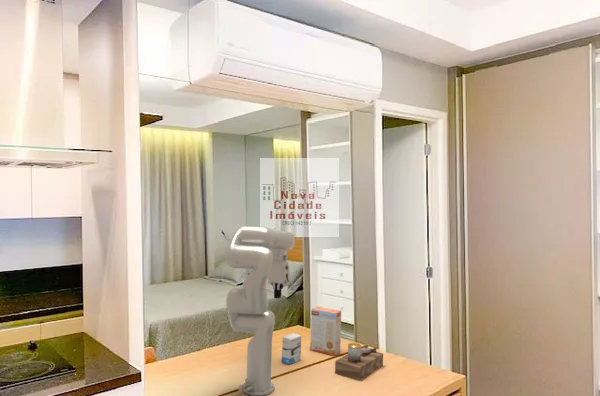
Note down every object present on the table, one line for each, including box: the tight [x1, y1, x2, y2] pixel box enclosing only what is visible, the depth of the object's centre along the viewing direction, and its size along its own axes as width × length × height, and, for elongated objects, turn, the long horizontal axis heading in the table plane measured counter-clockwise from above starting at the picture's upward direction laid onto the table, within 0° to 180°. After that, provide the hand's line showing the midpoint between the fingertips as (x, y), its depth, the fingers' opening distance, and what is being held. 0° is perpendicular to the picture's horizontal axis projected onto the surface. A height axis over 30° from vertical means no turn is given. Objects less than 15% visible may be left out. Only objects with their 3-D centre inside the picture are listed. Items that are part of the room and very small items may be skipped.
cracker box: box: [309, 306, 342, 356], centre depth 225 cm, size 14×6×21 cm, turn 58°
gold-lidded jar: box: [347, 342, 362, 363], centre depth 199 cm, size 6×6×12 cm
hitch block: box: [334, 344, 384, 382], centre depth 203 cm, size 22×12×8 cm, turn 144°
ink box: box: [281, 332, 302, 366], centre depth 211 cm, size 8×5×12 cm, turn 143°
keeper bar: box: [361, 347, 373, 353], centre depth 208 cm, size 10×3×1 cm, turn 144°
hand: (277, 297), depth 210 cm, fingers closed
